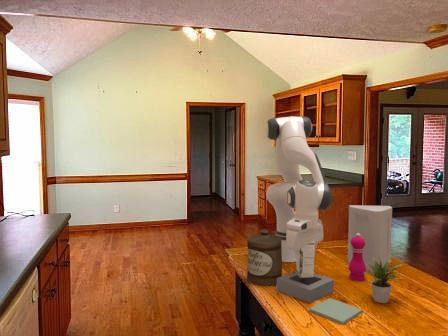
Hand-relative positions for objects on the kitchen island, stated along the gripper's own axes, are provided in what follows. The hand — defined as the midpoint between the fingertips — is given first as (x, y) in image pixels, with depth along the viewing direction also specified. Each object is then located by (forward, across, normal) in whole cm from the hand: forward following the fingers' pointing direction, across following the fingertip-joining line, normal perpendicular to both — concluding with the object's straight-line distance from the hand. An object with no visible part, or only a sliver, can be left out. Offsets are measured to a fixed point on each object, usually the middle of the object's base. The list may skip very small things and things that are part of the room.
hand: (305, 255), depth 149 cm
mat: (+14, +7, +18) cm, 24 cm away
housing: (+14, 0, 0) cm, 14 cm away
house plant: (+14, -13, +26) cm, 32 cm away
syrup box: (+8, 0, 0) cm, 8 cm away
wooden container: (+15, +3, -19) cm, 24 cm away
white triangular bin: (+14, -47, +4) cm, 49 cm away
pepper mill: (+14, -28, +8) cm, 32 cm away
